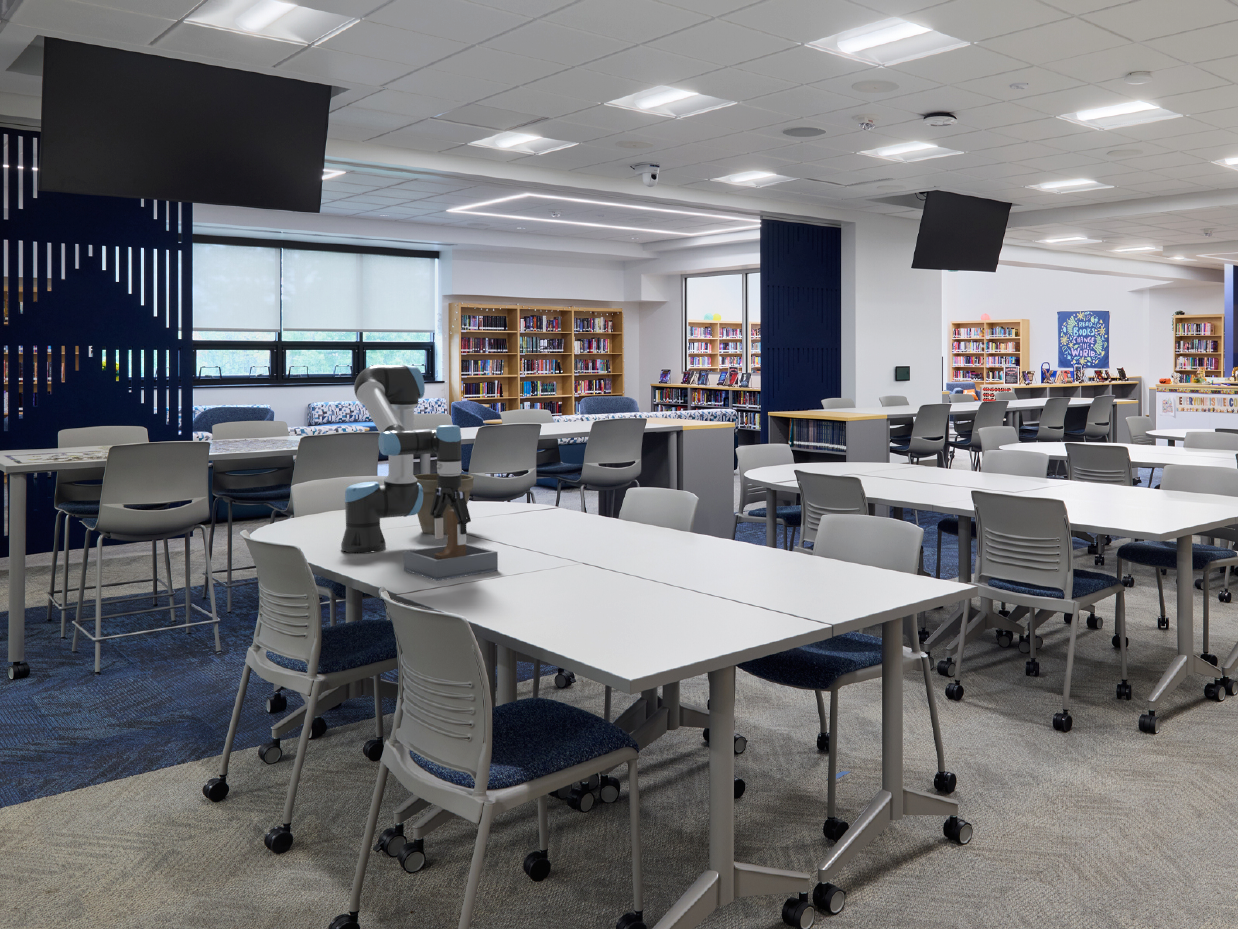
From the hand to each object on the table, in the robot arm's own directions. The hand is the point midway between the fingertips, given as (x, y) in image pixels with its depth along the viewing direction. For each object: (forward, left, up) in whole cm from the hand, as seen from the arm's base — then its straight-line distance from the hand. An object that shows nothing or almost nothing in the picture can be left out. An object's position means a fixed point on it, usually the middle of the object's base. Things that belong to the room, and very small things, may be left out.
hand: (450, 541), depth 302 cm
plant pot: (-64, +35, -9) cm, 74 cm away
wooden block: (0, 0, -8) cm, 8 cm away
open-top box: (0, 0, -9) cm, 9 cm away
